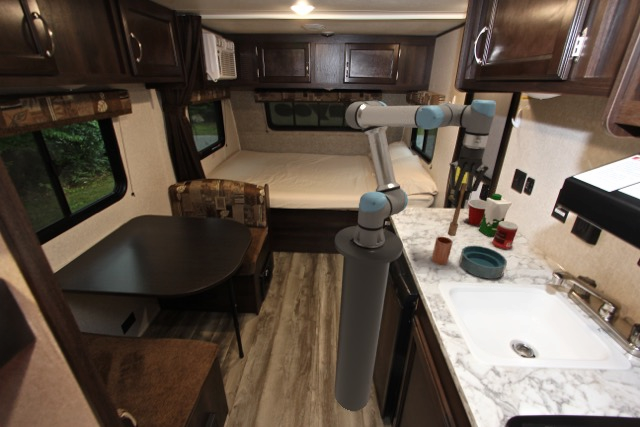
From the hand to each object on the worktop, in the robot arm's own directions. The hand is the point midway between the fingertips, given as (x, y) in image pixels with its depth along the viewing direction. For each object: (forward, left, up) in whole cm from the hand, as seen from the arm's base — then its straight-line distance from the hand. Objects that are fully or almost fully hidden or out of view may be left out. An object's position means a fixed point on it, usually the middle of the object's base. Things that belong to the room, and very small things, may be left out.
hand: (458, 206), depth 114 cm
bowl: (+14, -1, -26) cm, 29 cm away
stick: (0, 0, -12) cm, 12 cm away
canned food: (+29, +21, -26) cm, 44 cm away
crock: (-2, 0, -26) cm, 26 cm away
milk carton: (+27, +33, -26) cm, 50 cm away
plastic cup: (+22, +43, -26) cm, 55 cm away
